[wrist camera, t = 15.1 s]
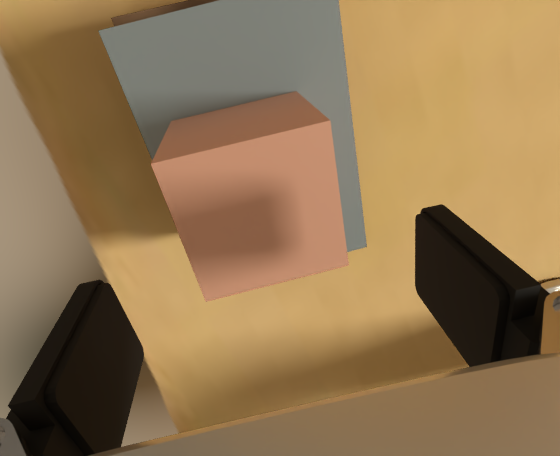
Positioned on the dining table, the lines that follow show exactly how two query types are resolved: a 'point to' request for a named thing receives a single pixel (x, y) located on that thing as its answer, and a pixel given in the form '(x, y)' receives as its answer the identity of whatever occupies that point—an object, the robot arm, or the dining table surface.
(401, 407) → the robot arm
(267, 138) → the terracotta block
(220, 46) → the slate top block
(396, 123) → the dining table surface
